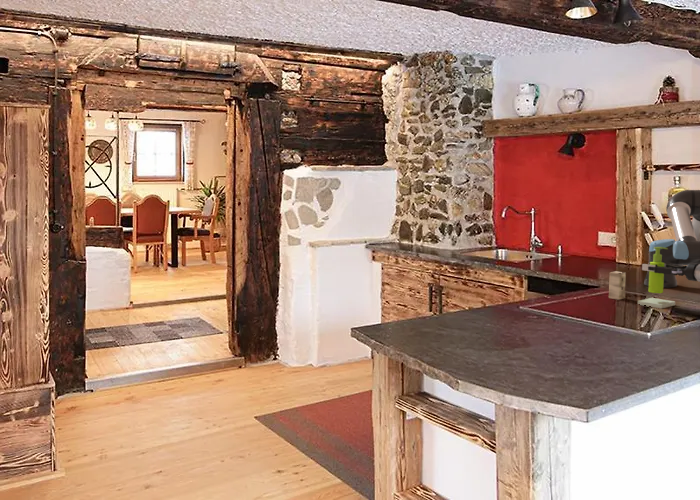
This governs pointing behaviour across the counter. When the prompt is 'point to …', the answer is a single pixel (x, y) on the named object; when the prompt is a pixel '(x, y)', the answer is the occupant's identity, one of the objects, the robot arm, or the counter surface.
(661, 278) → the soap dispenser
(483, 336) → the counter surface
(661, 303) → the sage pad
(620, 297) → the birch post
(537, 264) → the counter surface
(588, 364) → the counter surface
